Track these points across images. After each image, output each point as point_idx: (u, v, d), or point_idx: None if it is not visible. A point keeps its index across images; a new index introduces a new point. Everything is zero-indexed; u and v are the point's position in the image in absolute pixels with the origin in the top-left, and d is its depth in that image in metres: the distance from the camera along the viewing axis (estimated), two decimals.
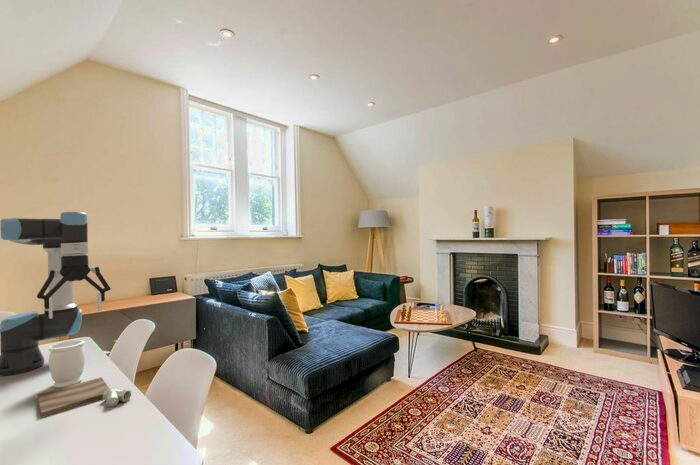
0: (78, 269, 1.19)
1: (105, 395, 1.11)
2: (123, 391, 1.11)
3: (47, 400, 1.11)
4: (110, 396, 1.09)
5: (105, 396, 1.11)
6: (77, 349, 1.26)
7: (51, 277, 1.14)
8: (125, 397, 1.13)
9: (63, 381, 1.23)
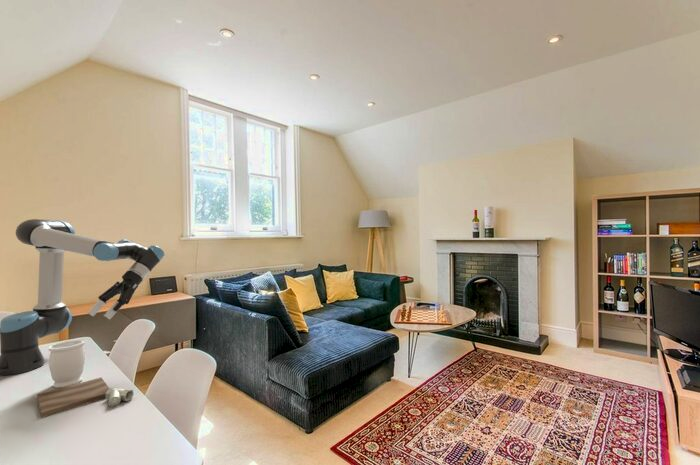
0: None
1: (108, 394, 1.12)
2: (125, 390, 1.12)
3: (47, 400, 1.11)
4: (112, 395, 1.09)
5: (108, 395, 1.12)
6: (77, 349, 1.26)
7: None
8: (127, 396, 1.13)
9: (63, 381, 1.23)
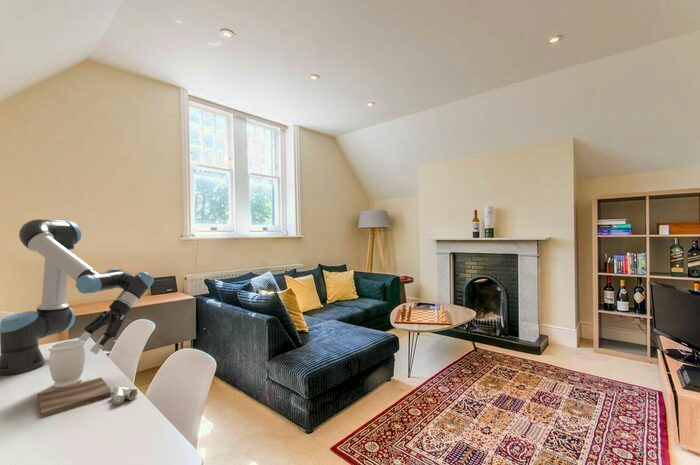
0: None
1: (112, 393, 1.13)
2: (129, 389, 1.13)
3: (47, 400, 1.11)
4: (116, 394, 1.10)
5: (112, 394, 1.13)
6: (77, 349, 1.26)
7: None
8: (131, 395, 1.14)
9: (63, 381, 1.23)
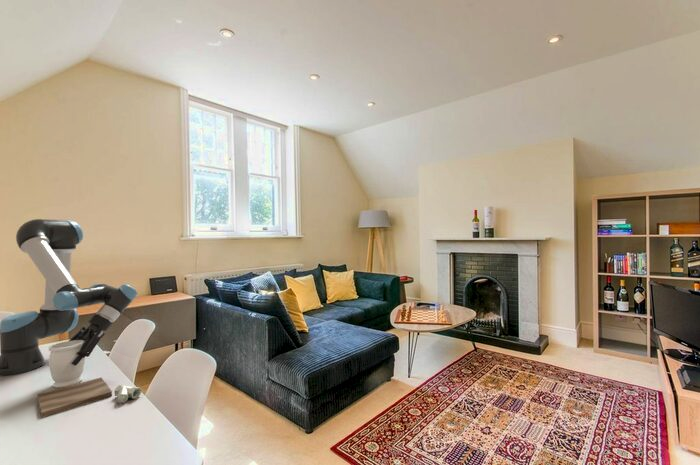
0: None
1: (117, 391, 1.14)
2: (133, 388, 1.13)
3: (47, 400, 1.11)
4: (120, 393, 1.11)
5: (117, 392, 1.14)
6: (77, 349, 1.26)
7: None
8: (135, 394, 1.15)
9: (63, 381, 1.23)
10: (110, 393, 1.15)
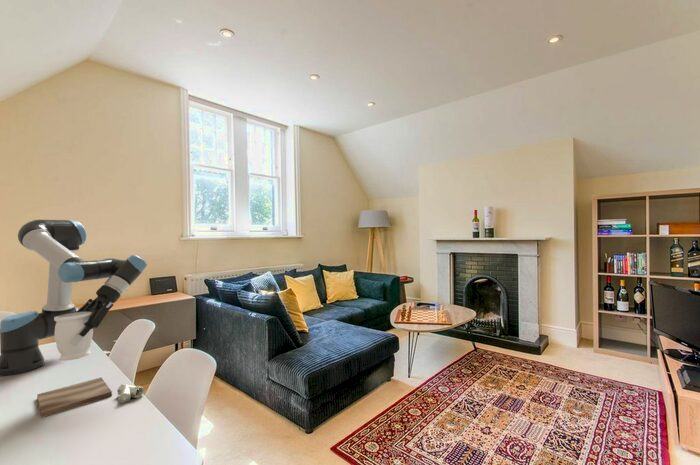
0: None
1: (119, 390, 1.14)
2: (135, 387, 1.14)
3: (47, 400, 1.11)
4: (123, 392, 1.12)
5: (119, 391, 1.15)
6: (85, 320, 1.18)
7: None
8: (138, 393, 1.15)
9: (70, 353, 1.15)
10: (110, 393, 1.15)
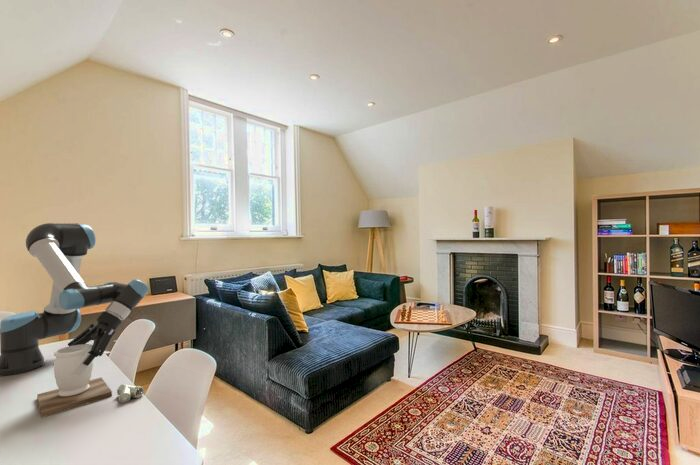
0: None
1: (119, 390, 1.14)
2: (135, 387, 1.14)
3: (47, 400, 1.11)
4: (123, 392, 1.12)
5: (119, 391, 1.14)
6: (85, 354, 1.16)
7: None
8: (138, 393, 1.15)
9: (69, 389, 1.13)
10: (110, 393, 1.15)
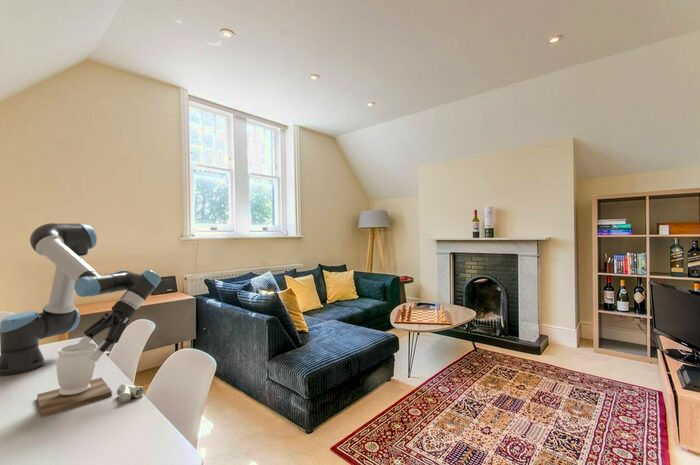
0: None
1: (119, 390, 1.14)
2: (135, 387, 1.14)
3: (47, 400, 1.11)
4: (123, 392, 1.12)
5: (119, 391, 1.14)
6: (87, 354, 1.16)
7: None
8: (138, 393, 1.15)
9: (69, 388, 1.13)
10: (110, 393, 1.15)
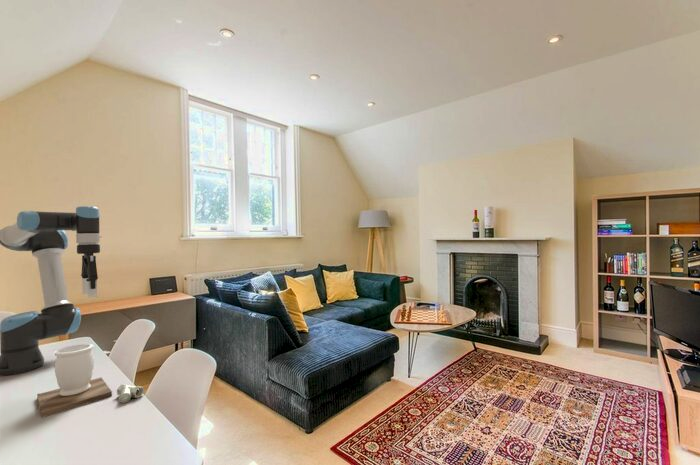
0: None
1: (119, 391, 1.14)
2: (136, 387, 1.14)
3: (47, 400, 1.11)
4: (123, 392, 1.12)
5: (119, 392, 1.14)
6: (84, 354, 1.16)
7: (95, 261, 1.34)
8: (138, 393, 1.15)
9: (68, 389, 1.13)
10: (110, 393, 1.15)
